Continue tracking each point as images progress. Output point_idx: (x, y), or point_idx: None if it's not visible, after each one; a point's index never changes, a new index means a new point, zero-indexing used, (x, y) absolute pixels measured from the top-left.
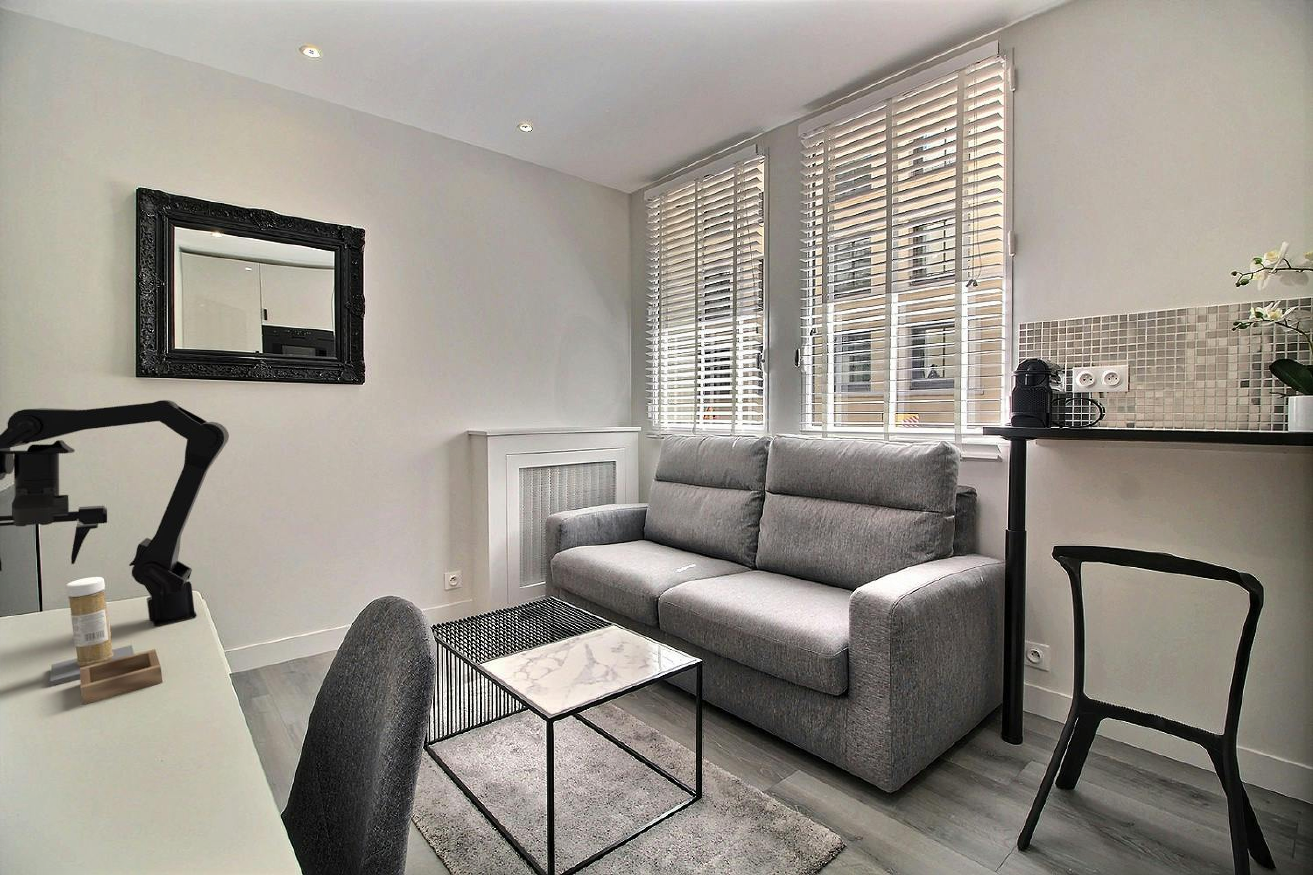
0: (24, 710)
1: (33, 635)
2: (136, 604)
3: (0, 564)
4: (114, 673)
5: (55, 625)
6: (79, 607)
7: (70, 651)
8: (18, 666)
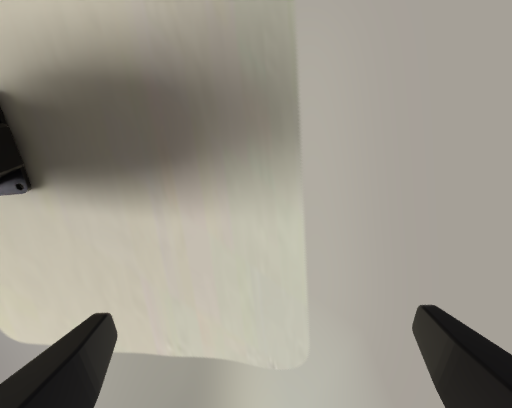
0: None
1: (271, 244)
2: None
3: (451, 332)
4: None
5: (240, 283)
6: None
7: (180, 37)
8: (281, 3)
